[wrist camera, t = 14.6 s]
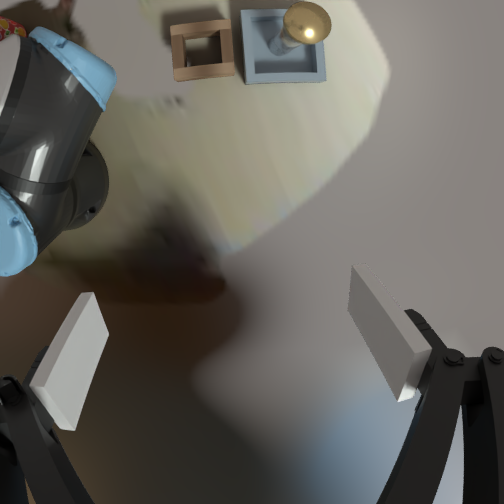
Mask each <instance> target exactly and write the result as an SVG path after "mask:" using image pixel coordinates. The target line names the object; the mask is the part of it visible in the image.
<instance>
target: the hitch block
mask: <svg viewBox="0 0 504 504" xmlns="http://www.w3.org/2000/svg"><path fill="white" fill-rule="evenodd" d="M170 31H171V46H172V60H173V71H174V80H176V81H177V82H181V81H189V80H197V79H205V78H214V77H224V76H234V73H235V69H234V56H233V44H232V32H231V19H223V20H212V21H202V22H194V23H187V24H180V25H173V26H170ZM213 36H220V43H221V56H222V63H218V64H209V65H200V66H192V67H187V58H186V45H185V40H188V39H195V38H204V37H213Z"/></svg>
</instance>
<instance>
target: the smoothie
mask: <svg viewBox="0 0 504 504" xmlns="http://www.w3.org/2000/svg"><path fill="white" fill-rule="evenodd" d="M13 34H16V35H19V36H23V37H26V38H27V33H26V31H25V28H24V26H23V25H21V24H19V23H17V22H15V21H12V20H10V19H7V18H5V17H2V16H0V41H2V40H3V39H5V38H7V37H9V36H10V35H13Z"/></svg>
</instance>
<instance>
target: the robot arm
mask: <svg viewBox="0 0 504 504" xmlns="http://www.w3.org/2000/svg"><path fill="white" fill-rule="evenodd" d="M116 80H117V77H116V72H115V70H114V69H113V67H111V66H110V65H109V64H108V63H106V62H105V61H103V60H102V59H100V58H99V57H97V56H96V55H94V54H93V53H91V52H89V51H88V50H86V49H84V48H82V47H81V46H79V45H77V44H75V43H73V42H72V41H69V40H67V39H66V38H64V37H62V36H60V35H58V34H57V33H55V32H53V31H51V30H48V29H46V28H44V27H40V26H38V27H36V28H35V29H34V30H33V31H32V32H30V34H29V38H26V37H23V36H19V35H16V34H13V35H10V36H9V37H7V38H5V39H3V40H2V41H0V276H9V275H15V274H17V273H19V272H20V271H21V270H23V269H24V268H25V267H27V266H29V265H30V264H31V263H33V261H34V260H35V258H36V257H37V256H38V255H39V254H40V253H41V252H42V251H43V250H44V249H45V248H46V247H47V246H48V245H49V244H50V243H51V242H52V241H53V240H54V239H55V238H56V237H57V236H58V235H59V234H60V233H61V232H62V231H66V230H72V229H76V228H79V227H81V226H83V225H85V224H87V223H88V222H89V221H91V220H92V219H93V218H94V217H95V216H96V215H97V214H98V213H99V211H100V210H101V209H102V207H103V205H104V203H105V201H106V198H107V194H108V189H109V176H108V170H107V167H106V164H105V161H104V159H103V157H102V155H101V154H100V152H99V151H98V150H97V149H96V147H95V146H94V145H92V144H91V143H90V142H89V141H88V140H89V138H90V136H91V134H92V131H93V129H94V127H95V125H96V123H97V121H98V119H99V117H100V115H101V113H102V112H104V111H105V110H106V103H107V101H108V99H109V97H110V95H111V93H112V91H113V89H114V87H115V84H116ZM348 311H349V313H350V315H351V317H352V318H353V320H354V322H355V324H356V326H357V327H358V329H359V331H360V333H361V334H362V336H363V338H364V340H365V342H366V344H367V345H368V347H369V349H370V351H371V353H372V355H373V356H374V358H375V360H376V362H377V364H378V366H379V368H380V369H381V371H382V373H383V375H384V377H385V379H386V381H387V383H388V385H389V386H390V388H391V390H392V392H393V394H394V396H395V398H396V400H397V402H399V401H403V400H406V399H409V398H412V397H414V395H415V393H416V390H417V388H418V389H419V391H420V393H421V394H422V395H421V397H420V399H419V401H418V404H417V406H416V408H415V410H416V411H415V414H414V417H413V420H412V423H411V425H410V428H409V431H408V433H407V436H406V439H405V441H404V444H403V446H402V449H401V451H400V454H399V456H398V458H397V461H396V463H395V465H394V468H393V470H392V472H391V474H390V476H389V479H388V481H387V483H386V485H385V487H384V489H383V491H382V493H381V495H380V497H379V499H378V501H377V503H376V504H432V503H433V500H434V498H435V495H436V492H437V489H438V486H439V484H440V481H441V478H442V475H443V472H444V468H445V465H446V462H447V458H448V454H449V451H450V447H451V444H452V440H453V436H454V431H455V427H456V423H457V418H458V414H459V409H460V405H461V406H462V419H463V437H464V438H463V440H464V484H463V503H462V504H504V351H503V350H501V349H499V348H496V347H488V348H486V349H484V351H483V353H482V355H481V357H469V358H468V357H465V356H464V354H462V353H461V352H460V351H458V350H455V349H449V348H447V347H446V346H445V344H444V343H443V342H442V340H441V339H440V338H439V337H438V335H437V334H436V333H435V332H434V330H433V329H431V327H430V325H429V324H428V323H427V322H426V320H425V319H424V318H423V317H422V315H421V314H419V313H418V312H416V311H414V310H413V309H409V310H403V309H402V308H401V307H400V305H399V304H398V303H397V302H396V300H395V299H394V298H393V296H392V295H391V294H390V293H389V292H388V290H387V289H386V288H385V286H384V285H383V284H382V283H381V282H380V280H379V279H378V278H377V277H376V276H375V274H374V273H373V272H372V271H371V269H370V268H369V267H368V266H367V265H366V264H357V265H352V270H351V281H350V292H349V303H348ZM108 336H109V333H108V330H107V328H106V325H105V323H104V320H103V317H102V315H101V312H100V309H99V307H98V304H97V301H96V298H95V295H94V292H89V293H81V294H80V296H79V297H78V299H77V300H76V302H75V304H74V305H73V307H72V309H71V310H70V312H69V314H68V315H67V317H66V319H65V320H64V322H63V324H62V326H61V327H60V329H59V331H58V333H57V334H56V336H55V338H54V339H53V341H52V343H51V345H50V346H45V347H44V348H43V349H42V350H41V351H40V352H39V353H38V355H37V357H36V359H35V362H34V363H33V364H32V366H31V369H30V370H29V372H28V374H27V376H26V377H25V379H24V381H23V383H22V385H20V383H19V382H18V380H17V379H16V377H15V376H14V375H4V376H2V377H1V378H0V504H29V502H28V496H27V490H26V484H25V478H26V481H27V483H28V486H29V488H30V491H31V493H32V496H33V498H34V500H35V502H36V504H95V503H94V502H93V500H92V499H91V497H90V495H89V494H88V492H87V490H86V489H85V487H84V485H83V484H82V482H81V480H80V479H79V477H78V475H77V473H76V471H75V470H74V468H73V466H72V464H71V462H70V460H69V458H68V457H67V455H66V453H65V451H64V449H63V447H62V445H61V443H60V441H59V438H58V437H57V434H56V432H55V431H54V429H53V428H52V425H53V423H54V421H55V422H56V424H57V425H58V426H59V428H60V429H66V430H73V431H75V429H76V426H77V422H78V419H79V416H80V413H81V410H82V407H83V404H84V401H85V398H86V395H87V392H88V389H89V386H90V383H91V381H92V378H93V375H94V372H95V370H96V367H97V364H98V361H99V359H100V356H101V353H102V351H103V348H104V346H105V343H106V340H107V338H108Z"/></svg>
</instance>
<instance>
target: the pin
mask: <svg viewBox="0 0 504 504" xmlns="http://www.w3.org/2000/svg"><path fill="white" fill-rule="evenodd" d="M330 31H331V19H330V17H329V15H328V13H327V12H326V11H325V10H324V9H323V8H322V7H321V6H319V5H317V4H315V3H312V2H298V3H296V4H294V5H292V6H291V7H290V8H289V9H288V10H287V11H286V13H285V14H284V17H283V27H282V28H281V29H280V30H279V31H278V32H277V33H276V34H275V35H274V37H273V38H272V39H271V40H270V41H269V44H268V47H269V50H270V52H271V53H272V54H274V55H276V56H285V55H286V54H288V53H289V52H291V51H292V50H294V49H295V48H297V47H298V46H300V45H302V44H306V45H311V44H316V43H318V42H320V41H322V40H324V39H325V38H326V37H327V36H328V35H329V33H330Z"/></svg>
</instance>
